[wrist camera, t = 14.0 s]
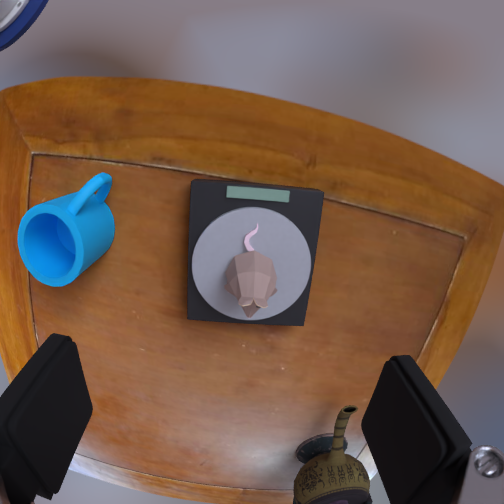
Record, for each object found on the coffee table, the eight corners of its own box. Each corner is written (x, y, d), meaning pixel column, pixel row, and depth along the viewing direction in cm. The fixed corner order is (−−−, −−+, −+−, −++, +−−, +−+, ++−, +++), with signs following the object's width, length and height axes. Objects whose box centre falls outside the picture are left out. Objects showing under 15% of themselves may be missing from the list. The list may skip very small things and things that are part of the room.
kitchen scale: (194, 178, 32) (189, 181, 29) (318, 189, 33) (326, 193, 30) (190, 309, 37) (186, 323, 34) (299, 315, 38) (305, 329, 34)
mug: (93, 272, 35) (62, 302, 27) (46, 230, 33) (7, 250, 25) (148, 194, 32) (122, 207, 25) (95, 149, 31) (58, 150, 23)
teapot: (282, 476, 49) (296, 580, 27) (299, 386, 41) (334, 535, 19) (343, 470, 49) (370, 566, 27) (378, 379, 42) (442, 504, 20)
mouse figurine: (283, 225, 31) (295, 245, 24) (272, 300, 33) (279, 335, 27) (230, 219, 30) (227, 238, 24) (222, 296, 33) (219, 330, 26)
